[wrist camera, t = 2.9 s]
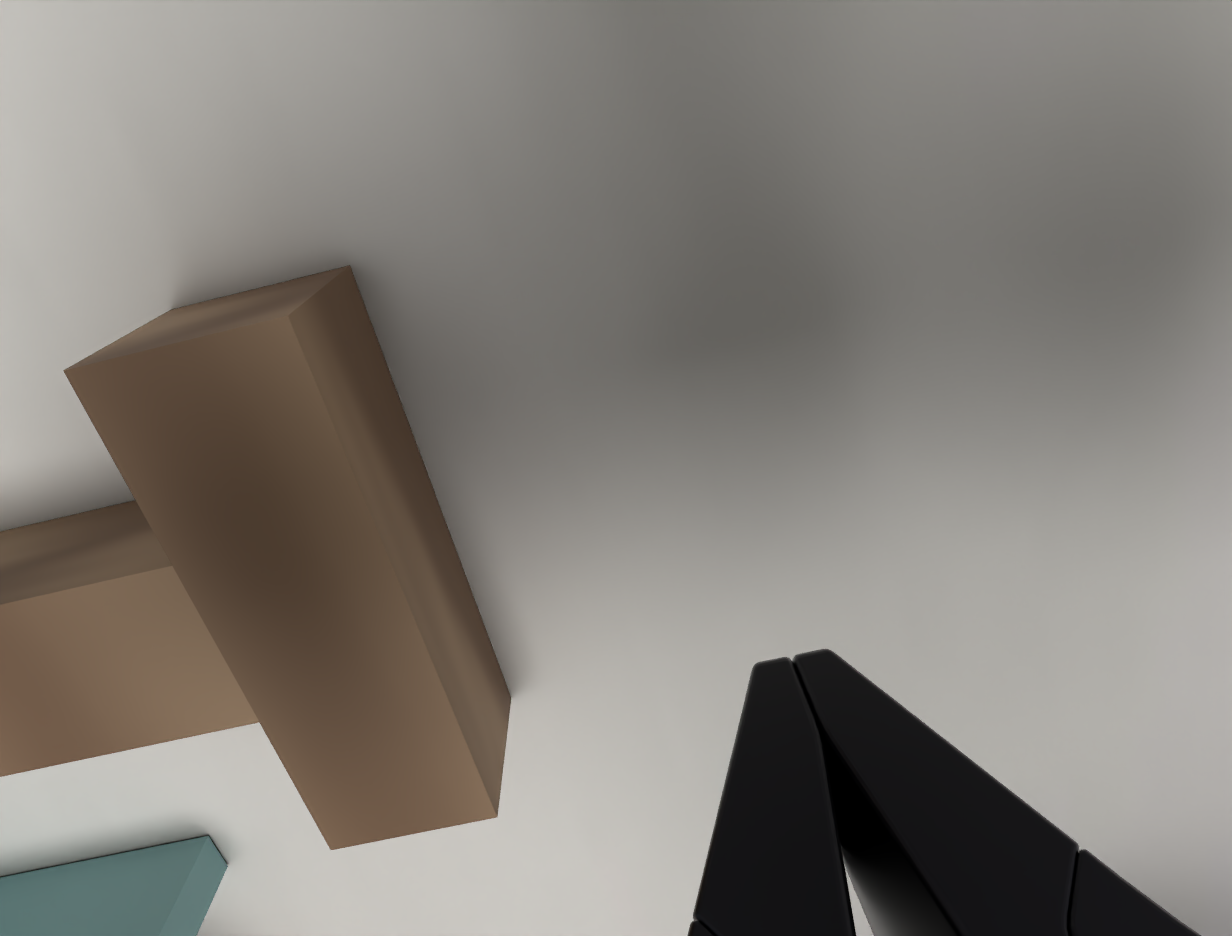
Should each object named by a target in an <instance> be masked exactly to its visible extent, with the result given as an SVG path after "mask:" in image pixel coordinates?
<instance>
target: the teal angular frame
mask: <svg viewBox="0 0 1232 936" xmlns="http://www.w3.org/2000/svg"><path fill="white" fill-rule="evenodd" d="M227 867H228V866H227V864H226V863H225V861H224V859H223V858H222V856H221V855H220V853H219V852H218V850H217V849H216V847H215V846H214V844H213V842H212V841H211V839H210V838H209V836H205V837H200V838H195V839H190V840H185V841H180V842H175V843H170V844H165V845H160V846H155V847H150V848H145V849H140V850H135V851H130V852H125V853H121V854H116V855H111V856H106V857H101V858H96V859H91V860H86V861H81V862H76V863H71V864H66V865H61V866H56V867H51V868H46V869H41V870H36V871H31V872H26V873H21V874H16V875H11V876H6V877H1V878H0V936H196V935H197V933H198V931H199V929H200V926H201V924H202V922H203V920H204V918H205V915H206V913H207V911H208V909H209V907H210V904H211V902H212V900H213V898H214V895H215V893H216V891H217V889H218V887H219V884H220V882H221V880H222V878H223V876H224V873H225V871H226V869H227Z"/></svg>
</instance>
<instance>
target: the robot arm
mask: <svg viewBox="0 0 1232 936" xmlns="http://www.w3.org/2000/svg"><path fill="white" fill-rule="evenodd" d="M844 864H845V867H846V869H847V872H848V874H849V877H850V879H851V882H852V884H853V887H854V889H855V892H856V894H857V896H858V899H859V901H860V903H861V906H862V908H863V911H864V913H865V915H866V918H867V920H868V922H869V925H870V927H871V929H872V932H873V934H874V936H1201V935H1199V934H1198V933H1197V932H1195V931H1194V930H1192V929H1191V928H1189V927H1188V926H1186V925H1185V924H1183V923H1182V922H1180V921H1179V920H1178V919H1176V918H1175V917H1174V916H1172V915H1171V914H1170V913H1168V912H1167V911H1166V910H1164V909H1163V908H1162V907H1160V906H1159V905H1158V904H1156V903H1155V902H1154V901H1152V900H1151V899H1150V898H1148V897H1147V896H1146V895H1144V894H1143V893H1142V892H1140V891H1139V890H1138V889H1136V888H1135V887H1134V886H1132V885H1131V884H1130V883H1128V882H1127V881H1126V880H1124V879H1123V878H1122V877H1120V876H1119V875H1118V874H1116V873H1115V872H1114V871H1113V870H1111V869H1110V868H1109V867H1107V866H1106V865H1105V864H1104V863H1102V862H1101V861H1100V860H1099V859H1097V858H1096V857H1095V856H1094V855H1092V854H1091V853H1090V852H1089V851H1087V850H1084V849H1083V850H1080V851H1079V845H1078V844H1077V843H1076V842H1075V841H1074V840H1073V839H1071V838H1070V837H1069V836H1068V835H1066V834H1065V833H1064V832H1063V831H1061V830H1060V829H1059V828H1057V827H1056V826H1055V825H1054V824H1052V823H1051V822H1050V821H1048V820H1047V819H1046V818H1045V817H1043V816H1042V815H1041V814H1040V813H1038V812H1037V811H1036V810H1034V809H1033V808H1032V807H1031V806H1029V805H1028V804H1027V803H1026V802H1024V801H1023V800H1022V799H1020V798H1019V797H1018V796H1017V795H1015V794H1014V793H1013V792H1011V791H1010V790H1009V789H1008V788H1006V787H1005V786H1004V785H1003V784H1001V783H1000V782H999V781H997V780H996V779H995V778H994V777H992V776H991V775H990V774H989V773H987V772H986V771H985V770H983V769H982V768H981V767H980V766H978V765H977V764H976V763H974V762H973V761H972V760H971V759H969V758H968V757H967V756H966V755H964V754H963V753H962V752H960V751H959V750H958V749H957V748H955V747H954V746H953V745H952V744H950V743H949V742H948V741H946V740H945V739H944V738H943V737H941V736H940V735H939V734H937V733H936V732H935V731H934V730H932V729H931V728H930V727H929V726H927V725H926V724H925V723H923V722H922V721H921V720H920V719H918V718H917V717H916V716H915V715H913V714H912V713H911V712H909V711H908V710H907V709H906V708H904V707H903V706H902V705H900V704H899V703H898V702H897V701H895V700H894V699H893V698H892V697H890V696H889V695H888V694H886V693H885V692H884V691H883V690H881V689H880V688H879V687H877V686H876V685H875V684H874V683H872V682H871V681H870V680H869V679H867V678H866V677H865V676H863V675H862V674H861V673H860V672H858V671H857V670H856V669H855V668H853V667H852V666H851V665H849V664H848V663H847V662H846V661H844V660H843V659H842V658H840V657H839V656H838V655H837V654H835V653H834V652H833V651H831V650H828V649H821V650H816V651H811V652H807V653H802V654H797V655H795V656H794V658H793V661H791V660H790V659H789V658H787V657H782V658H777V659H772V660H767V661H763V662H758V663H756V664H755V665H754V667H753V669H752V672H751V676H750V680H749V684H748V689H747V693H746V697H745V701H744V705H743V709H742V714H741V718H740V722H739V726H738V730H737V734H736V738H735V743H734V747H733V751H732V755H731V759H730V763H729V768H728V772H727V776H726V780H725V784H724V788H723V792H722V797H721V801H720V805H719V809H718V813H717V817H716V822H715V826H714V830H713V834H712V838H711V842H710V846H709V851H708V855H707V859H706V863H705V867H704V871H703V876H702V880H701V884H700V888H699V892H698V896H697V900H696V905H695V909H694V913H693V919H694V921H693V922H692V923H691V924H690V928H689V932H688V936H856V932H855V926H854V920H853V914H852V908H851V902H850V896H849V890H848V884H847V878H846V872H845V867H844Z"/></svg>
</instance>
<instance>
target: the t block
mask: <svg viewBox="0 0 1232 936" xmlns="http://www.w3.org/2000/svg"><path fill="white" fill-rule="evenodd" d="M64 373H65V375H66V376H67V378H68V380H69V382H70V383H71V385H72V387H73V389H74V391H75V392H76V394H77V396H78V398H79V400H80V401H81V403H82V405H83V407H84V409H85V410H86V412H87V414H88V416H89V418H90V419H91V421H92V423H93V425H94V426H95V428H96V430H97V432H98V434H99V435H100V437H101V439H102V441H103V443H104V444H105V446H106V448H107V450H108V452H109V453H110V455H111V457H112V459H113V461H114V462H115V464H116V466H117V468H118V469H119V471H120V473H121V475H122V477H123V478H124V480H125V482H126V484H127V486H128V487H129V489H130V491H131V493H132V495H133V496H134V498H135V500H134V501H130V502H126V503H121V504H117V505H113V506H108V507H104V508H100V509H95V510H91V511H87V512H83V513H78V514H74V515H70V516H65V517H61V518H57V519H52V520H48V521H44V522H39V523H35V524H31V525H27V526H22V527H18V528H14V529H9V530H5V531H1V532H0V777H2V776H6V775H11V774H16V773H21V772H25V771H30V770H35V769H40V768H44V767H49V766H54V765H59V764H63V763H68V762H73V761H78V760H82V759H87V758H92V757H97V756H101V755H106V754H111V753H116V752H120V751H125V750H130V749H135V748H139V747H144V746H149V745H154V744H158V743H163V742H168V741H173V740H177V739H182V738H187V737H191V736H196V735H201V734H206V733H210V732H215V731H220V730H225V729H229V728H234V727H239V726H244V725H248V724H253V723H258V722H260V724H261V726H262V728H263V729H264V731H265V733H266V735H267V737H268V738H269V740H270V742H271V744H272V745H273V747H274V749H275V751H276V753H277V754H278V756H279V758H280V760H281V762H282V763H283V765H284V767H285V769H286V771H287V772H288V774H289V776H290V778H291V780H292V781H293V783H294V785H295V787H296V788H297V790H298V792H299V794H300V796H301V797H302V799H303V801H304V803H305V805H306V806H307V808H308V810H309V812H310V814H311V815H312V817H313V819H314V821H315V823H316V824H317V826H318V828H319V830H320V831H321V833H322V835H323V837H324V839H325V840H326V842H327V844H328V846H329V848H330V849H331V850H334V849H340V848H345V847H350V846H355V845H360V844H365V843H370V842H375V841H380V840H385V839H390V838H395V837H400V836H405V835H410V834H415V833H420V832H425V831H430V830H435V829H440V828H445V827H450V826H455V825H460V824H465V823H470V822H476V821H481V820H486V819H491V818H496V817H497V816H498V807H499V799H500V790H501V781H502V773H503V764H504V756H505V747H506V738H507V730H508V721H509V713H510V704H511V696H510V693H509V690H508V688H507V685H506V682H505V680H504V677H503V674H502V672H501V669H500V666H499V664H498V661H497V658H496V656H495V653H494V650H493V648H492V645H491V642H490V640H489V637H488V634H487V632H486V629H485V626H484V623H483V621H482V618H481V615H480V613H479V610H478V607H477V605H476V602H475V599H474V597H473V594H472V591H471V589H470V586H469V583H468V581H467V578H466V575H465V573H464V570H463V567H462V565H461V562H460V559H459V557H458V554H457V551H456V549H455V546H454V543H453V540H452V538H451V535H450V532H449V530H448V527H447V524H446V522H445V519H444V516H443V514H442V511H441V508H440V506H439V503H438V500H437V498H436V495H435V492H434V490H433V487H432V484H431V482H430V479H429V476H428V474H427V471H426V468H425V466H424V463H423V460H422V457H421V455H420V452H419V449H418V447H417V444H416V441H415V439H414V436H413V433H412V431H411V428H410V425H409V423H408V420H407V417H406V415H405V412H404V409H403V407H402V404H401V401H400V399H399V396H398V393H397V391H396V388H395V385H394V383H393V380H392V377H391V374H390V372H389V369H388V366H387V364H386V361H385V358H384V356H383V353H382V350H381V348H380V345H379V342H378V340H377V337H376V334H375V332H374V329H373V326H372V324H371V321H370V318H369V316H368V313H367V310H366V308H365V305H364V302H363V300H362V297H361V294H360V291H359V289H358V286H357V283H356V281H355V278H354V275H353V273H352V270H351V267H350V265H349V266H345V267H341V268H337V269H333V270H329V271H325V272H321V273H317V274H313V275H309V276H305V277H301V278H297V279H293V280H289V281H285V282H281V283H277V284H273V285H269V286H265V287H261V288H257V289H253V290H249V291H245V292H241V293H237V294H233V295H229V296H225V297H220V298H216V299H212V300H208V301H204V302H200V303H196V304H192V305H188V306H184V307H180V308H176V309H172V310H170V311H168V312H166V313H164V314H163V315H161V316H159V317H157V318H156V319H154V320H152V321H150V322H148V323H147V324H145V325H143V326H141V327H140V328H138V329H136V330H134V331H133V332H131V333H129V334H127V335H125V336H124V337H122V338H120V339H118V340H117V341H115V342H113V343H111V344H110V345H108V346H106V347H104V348H102V349H101V350H99V351H97V352H95V353H94V354H92V355H90V356H88V357H87V358H85V359H83V360H81V361H79V362H78V363H76V364H74V365H72V366H71V367H69V368H67V369H65V370H64Z"/></svg>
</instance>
